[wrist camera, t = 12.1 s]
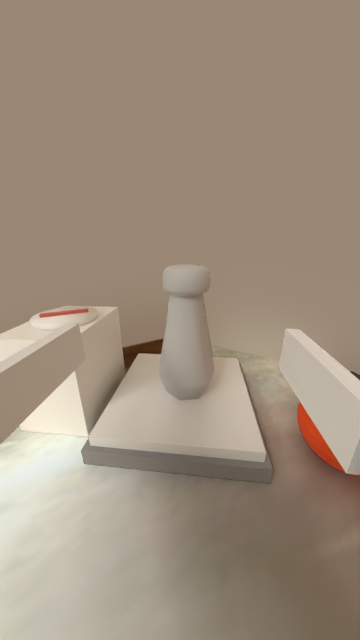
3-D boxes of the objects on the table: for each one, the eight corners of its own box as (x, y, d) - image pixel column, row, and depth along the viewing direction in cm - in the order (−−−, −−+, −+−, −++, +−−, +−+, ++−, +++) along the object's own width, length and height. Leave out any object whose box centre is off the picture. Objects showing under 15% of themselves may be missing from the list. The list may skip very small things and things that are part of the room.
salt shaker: (199, 368, 26) (202, 262, 22) (223, 398, 21) (233, 266, 17) (154, 378, 24) (147, 263, 20) (167, 413, 19) (163, 269, 15)
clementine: (435, 504, 14) (485, 426, 12) (355, 532, 13) (394, 450, 11) (333, 417, 22) (351, 358, 19) (274, 429, 20) (287, 367, 18)
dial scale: (-3, 454, 18) (-50, 341, 14) (87, 363, 32) (75, 294, 28) (270, 483, 16) (296, 357, 12) (238, 371, 30) (246, 297, 26)
